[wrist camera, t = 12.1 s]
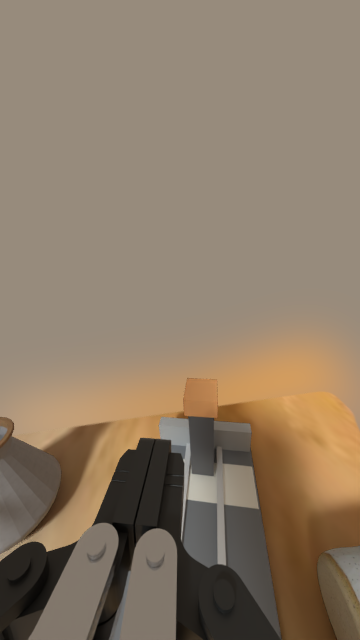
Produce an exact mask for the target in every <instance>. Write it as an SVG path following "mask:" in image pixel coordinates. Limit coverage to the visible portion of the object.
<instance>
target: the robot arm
mask: <svg viewBox="0 0 360 640" xmlns="http://www.w3.org/2000/svg"><path fill="white" fill-rule="evenodd" d="M184 467H185V463H184V461H183V458H182V455H181V453H171V440H166V439H150V438H140V440H139V443H138V446H137V449H136V450H130V449H128V450H127V451H126V452H125V453H124V455H123V456H122V457H121V458H120V460H119V462H118V465H117V467H116V470H115V472H114V475H113V477H112V481H111V482H110V485H109V487H108V490H107V492H106V495H105V497H104V500H103V502H102V504H101V507H100V509H99V512H98V514H97V517H96V519H95V521H94V523H93V525H92V527H90V528H89V529H88V530H87V531H85V533H84V534H83V535H82V536H81V537H80V539H79V540H78V541H77V542H75V543H73V544H71V545H68V546H65V547H62V548H58V549H55V550H52V551H48V552H46V548H45V547H44V545H43V544H41V543H39V542H30V543H27V544H24V545H22V546H20V547H19V548H17V549H16V550H14V551H13V552H12V553H10V554H9V555H8V556H7V557H5V558H4V559H3V560H1V561H0V640H113V638H114V634H115V630H116V627H117V623H118V619H119V616H120V612H121V608H122V604H123V598H124V589H125V585H126V581H127V576H128V572H129V571H131V573H130V579H129V585H128V591H127V597H126V603H125V609H124V615H123V621H122V627H121V633H120V639H119V640H281V639H280V637H279V636H278V634H277V633H276V631H275V630H274V628H273V627H272V625H271V624H270V622H269V621H268V619H267V618H266V616H265V615H264V613H263V611H262V610H261V608H260V607H259V605H258V604H257V602H256V601H255V599H254V598H253V596H252V595H251V593H250V592H249V590H248V589H247V587H246V586H245V584H244V582H243V581H242V579H241V578H240V577H239V575H238V574H237V573H236V572H235V571H234V570H233V569H231V568H230V567H228V566H226V565H223V564H217V565H213V566H211V567H210V568H208V567H206V566H205V565H203V564H201V563H200V562H198V561H196V560H195V559H193V558H192V557H191V556H190V555H189V554H188V553H187V551H186V550H185V548H184V546H183V544H182V541H181V531H182V516H183V500H184Z"/></svg>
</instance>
